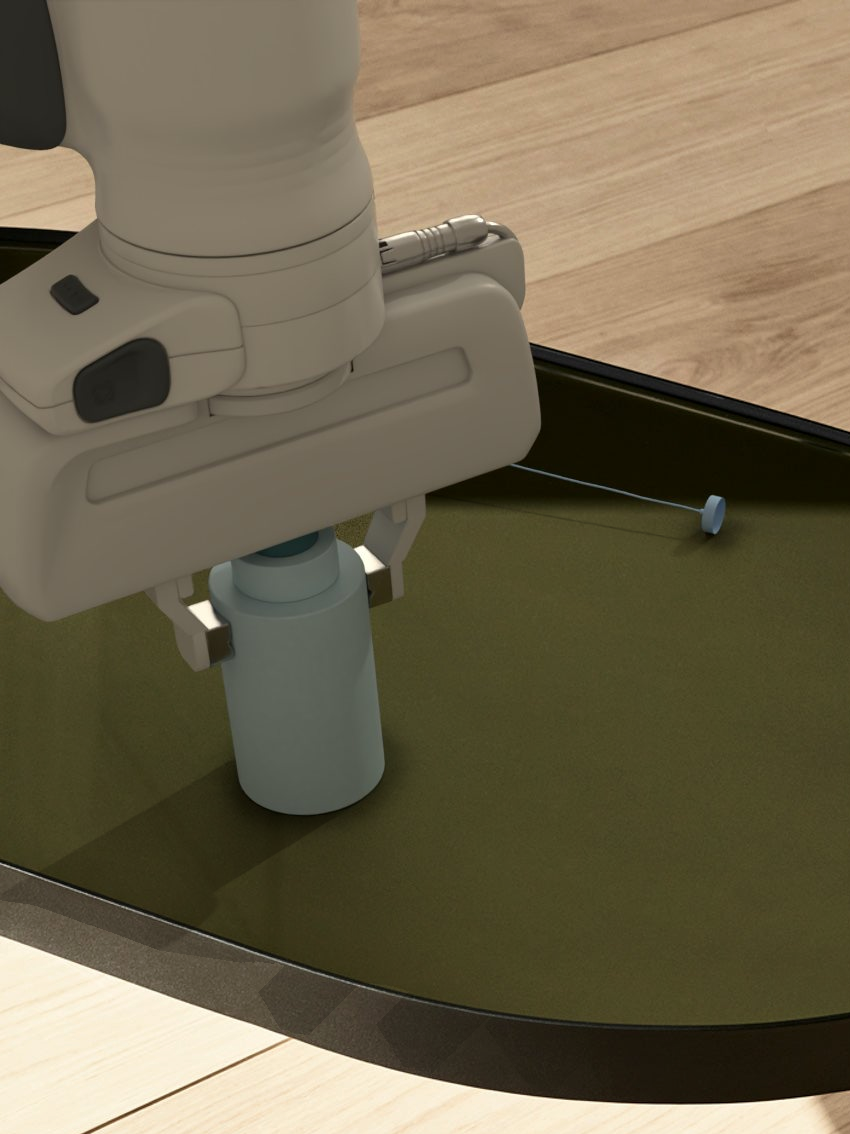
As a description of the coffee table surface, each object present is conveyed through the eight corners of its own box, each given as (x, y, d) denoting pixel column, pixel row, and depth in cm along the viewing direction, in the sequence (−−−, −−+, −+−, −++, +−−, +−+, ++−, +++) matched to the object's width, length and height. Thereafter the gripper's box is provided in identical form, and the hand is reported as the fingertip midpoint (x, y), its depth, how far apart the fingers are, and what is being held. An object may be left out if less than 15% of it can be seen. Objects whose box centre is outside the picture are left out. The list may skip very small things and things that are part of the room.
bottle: (214, 757, 89) (168, 478, 81) (342, 708, 92) (310, 432, 84) (278, 834, 86) (238, 550, 78) (411, 781, 88) (384, 501, 80)
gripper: (473, 168, 82) (493, 503, 91) (-85, 324, 73) (-2, 676, 82) (567, 234, 78) (578, 577, 87) (-11, 407, 69) (68, 768, 78)
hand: (292, 627), depth 84 cm, fingers closed on bottle, 5 cm apart
